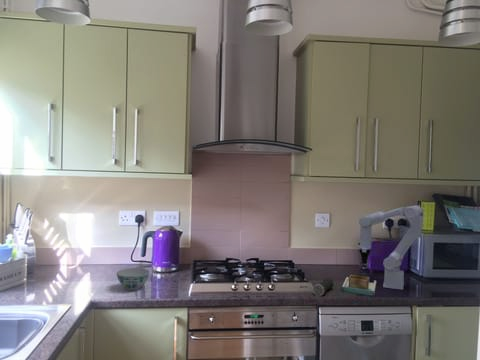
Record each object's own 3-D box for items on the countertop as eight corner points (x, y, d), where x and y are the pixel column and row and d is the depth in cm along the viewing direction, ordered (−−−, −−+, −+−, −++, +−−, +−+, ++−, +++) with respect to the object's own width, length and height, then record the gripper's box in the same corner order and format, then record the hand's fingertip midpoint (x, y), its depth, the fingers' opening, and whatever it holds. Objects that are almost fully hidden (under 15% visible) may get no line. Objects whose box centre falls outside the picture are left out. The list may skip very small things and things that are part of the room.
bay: (376, 284, 203) (376, 280, 203) (373, 295, 184) (374, 291, 184) (346, 280, 208) (346, 276, 208) (341, 291, 190) (341, 286, 190)
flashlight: (323, 287, 196) (324, 276, 196) (334, 289, 193) (334, 278, 193) (312, 294, 183) (312, 283, 183) (323, 297, 180) (323, 285, 180)
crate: (368, 288, 193) (369, 277, 193) (367, 292, 187) (368, 280, 187) (350, 285, 197) (350, 274, 196) (348, 289, 190) (348, 278, 190)
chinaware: (139, 294, 175) (140, 277, 175) (110, 291, 179) (110, 274, 179) (154, 285, 190) (154, 269, 190) (126, 282, 193) (127, 266, 193)
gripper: (359, 235, 217) (358, 259, 218) (356, 239, 204) (355, 265, 204) (372, 236, 215) (371, 260, 215) (370, 240, 201) (369, 266, 202)
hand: (364, 263), depth 210 cm, fingers closed
